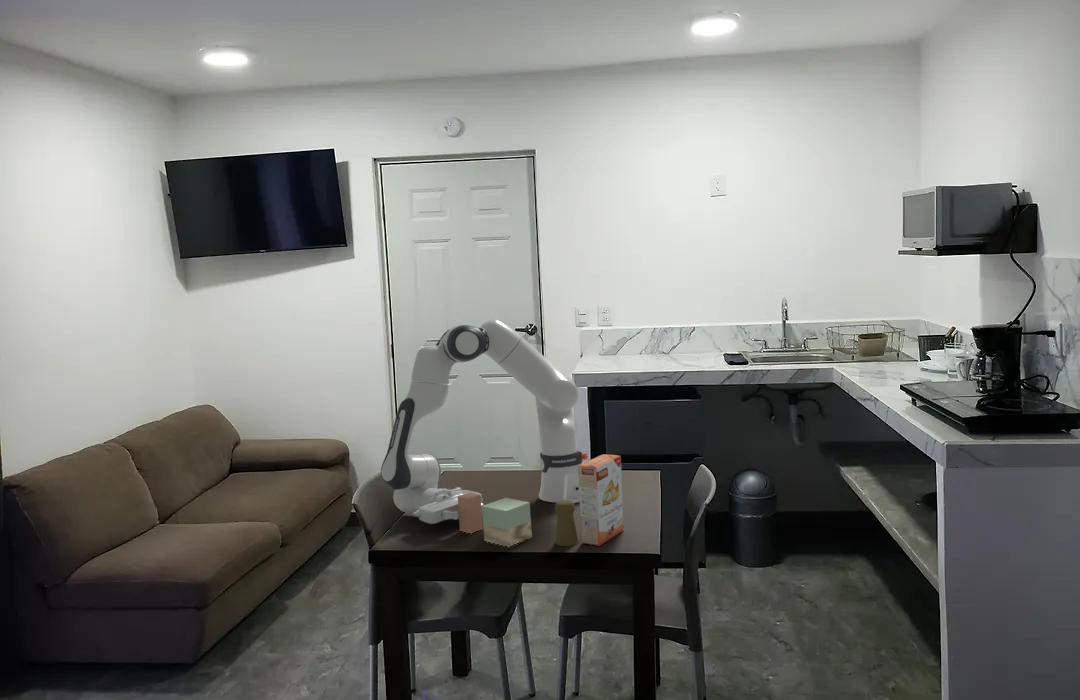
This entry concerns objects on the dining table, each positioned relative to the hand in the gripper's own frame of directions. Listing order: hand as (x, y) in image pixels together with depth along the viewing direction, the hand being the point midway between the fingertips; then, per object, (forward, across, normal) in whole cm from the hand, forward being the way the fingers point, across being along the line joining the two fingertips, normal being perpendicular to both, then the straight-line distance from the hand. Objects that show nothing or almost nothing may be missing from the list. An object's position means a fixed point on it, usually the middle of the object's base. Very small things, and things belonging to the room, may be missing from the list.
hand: (470, 511), depth 234 cm
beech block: (+14, 0, +6) cm, 15 cm away
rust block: (0, 0, +6) cm, 6 cm away
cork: (+29, +6, +6) cm, 30 cm away
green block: (+14, 0, +1) cm, 14 cm away
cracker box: (+35, +14, +6) cm, 38 cm away
